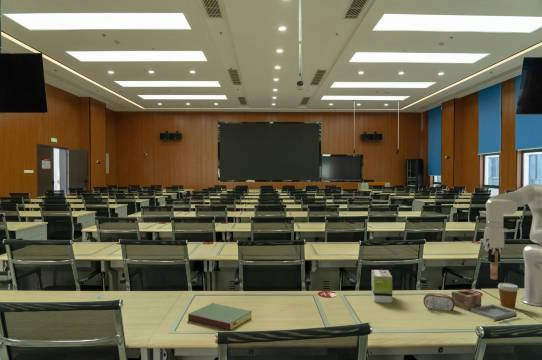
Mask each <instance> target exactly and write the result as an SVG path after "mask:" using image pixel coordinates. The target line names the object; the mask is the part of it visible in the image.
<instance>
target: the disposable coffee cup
mask: <svg viewBox="0 0 542 360" xmlns="http://www.w3.org/2000/svg"><path fill="white" fill-rule="evenodd" d="M497 288H498V293H499V301H500V307H502V308H506V309H509V308H510V309H514V310H515V309H516V302H517V295H518V291H519V287H518V285H517V284H513V283H509V282H500V283H498V285H497Z"/></svg>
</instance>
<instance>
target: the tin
mask: <svg viewBox="0 0 542 360" xmlns="http://www.w3.org/2000/svg"><path fill="white" fill-rule="evenodd" d="M423 305H424V307H425V308H426V309H428V310H430V311H433V310H442V311H448V312H449V311H450V312H452V311H453V310H454V309H455V307H456V306H455V302H454V300H453V298H452V296H451V295H447V294H441V293H440V294H439V293H434V292H431V293H426V294H425V295H424V297H423Z"/></svg>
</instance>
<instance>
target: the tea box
mask: <svg viewBox="0 0 542 360" xmlns="http://www.w3.org/2000/svg"><path fill="white" fill-rule="evenodd" d="M371 297H372V299H373V302H374V303H387V304H389V303H393V276H392V274H391V272H390V271H389V269H371Z"/></svg>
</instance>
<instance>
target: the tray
mask: <svg viewBox="0 0 542 360" xmlns="http://www.w3.org/2000/svg"><path fill="white" fill-rule="evenodd" d="M470 312H471V313H475V314H477V315H479V316H483V317H485V318H489V319H491V320H492V321H493V322H494V323H496V322H500V321H505V320H509V319H514V318H517V311H515V310H511V309H509V308H507V307H503V306H499V305H495V304H487V305H481V307H476V308H471V310H470Z"/></svg>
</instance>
